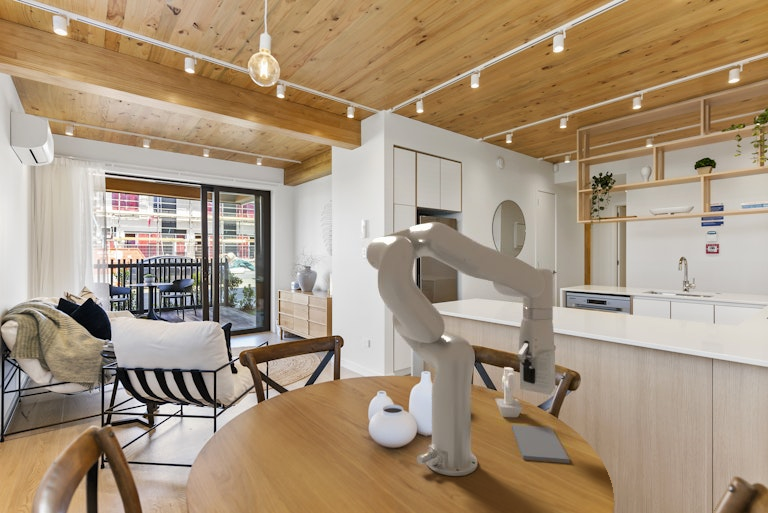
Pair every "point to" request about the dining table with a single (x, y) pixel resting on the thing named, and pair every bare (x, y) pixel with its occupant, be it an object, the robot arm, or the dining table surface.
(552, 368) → the small box
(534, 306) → the robot arm
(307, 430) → the dining table surface
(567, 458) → the mat
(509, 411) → the figurine
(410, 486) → the dining table surface
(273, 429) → the dining table surface
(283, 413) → the dining table surface
